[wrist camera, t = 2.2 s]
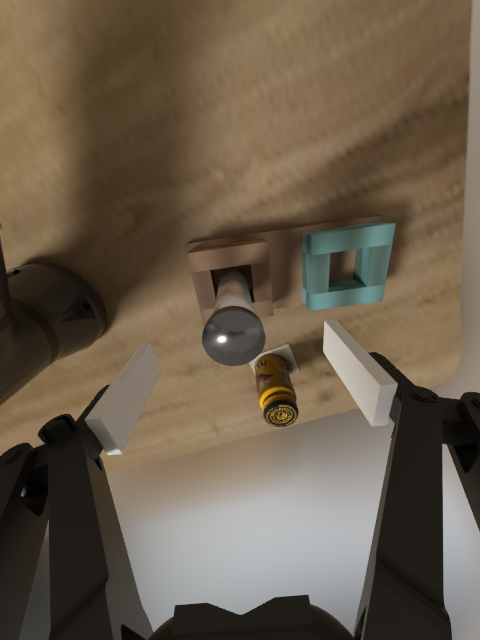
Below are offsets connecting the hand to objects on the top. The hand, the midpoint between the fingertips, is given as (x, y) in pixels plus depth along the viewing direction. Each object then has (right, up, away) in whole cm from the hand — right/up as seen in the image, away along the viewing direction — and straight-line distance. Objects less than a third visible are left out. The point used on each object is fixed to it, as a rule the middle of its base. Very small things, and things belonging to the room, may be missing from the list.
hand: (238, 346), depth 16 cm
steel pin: (-1, +8, +17) cm, 19 cm away
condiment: (+7, -7, +26) cm, 28 cm away
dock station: (+7, +10, +18) cm, 21 cm away
